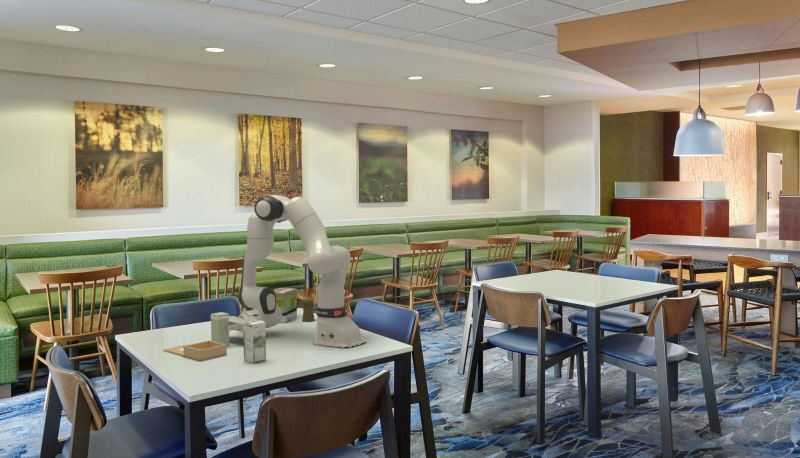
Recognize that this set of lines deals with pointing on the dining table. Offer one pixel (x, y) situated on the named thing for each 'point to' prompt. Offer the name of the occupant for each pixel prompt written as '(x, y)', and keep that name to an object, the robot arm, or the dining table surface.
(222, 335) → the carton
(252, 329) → the syrup box
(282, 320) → the tea box
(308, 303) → the cork
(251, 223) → the robot arm
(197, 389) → the dining table surface
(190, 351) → the box
